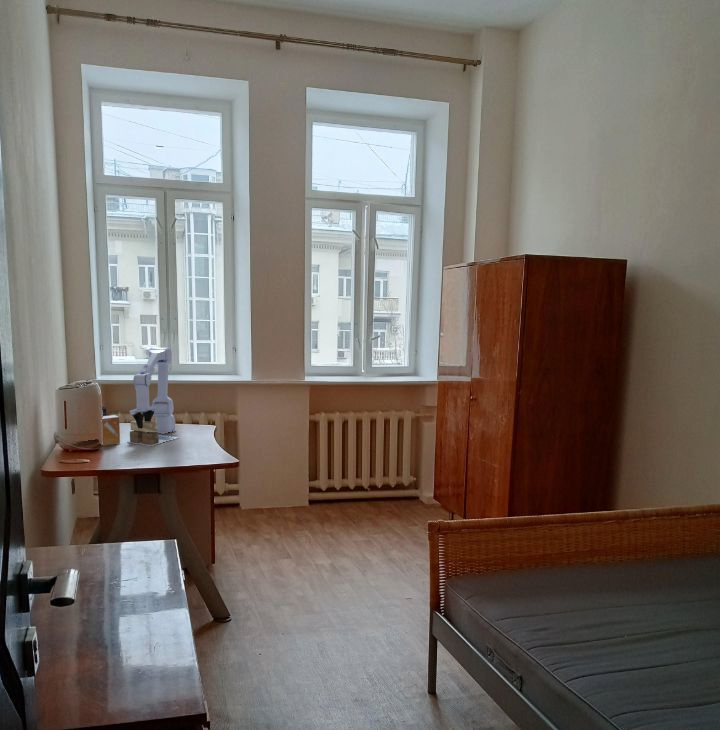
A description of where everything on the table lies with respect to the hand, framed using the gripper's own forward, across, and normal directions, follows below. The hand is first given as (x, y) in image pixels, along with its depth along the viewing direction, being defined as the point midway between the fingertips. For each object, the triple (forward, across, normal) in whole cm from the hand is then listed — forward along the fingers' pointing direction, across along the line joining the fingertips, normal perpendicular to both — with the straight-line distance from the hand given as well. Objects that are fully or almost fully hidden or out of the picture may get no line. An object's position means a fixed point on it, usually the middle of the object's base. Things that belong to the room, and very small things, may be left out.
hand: (143, 427), depth 268 cm
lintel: (+1, 0, 0) cm, 1 cm away
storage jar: (+8, -2, +29) cm, 30 cm away
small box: (+8, -8, +14) cm, 18 cm away
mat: (+8, +6, 0) cm, 10 cm away
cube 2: (+7, 0, -4) cm, 8 cm away
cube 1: (+7, 0, +4) cm, 8 cm away
